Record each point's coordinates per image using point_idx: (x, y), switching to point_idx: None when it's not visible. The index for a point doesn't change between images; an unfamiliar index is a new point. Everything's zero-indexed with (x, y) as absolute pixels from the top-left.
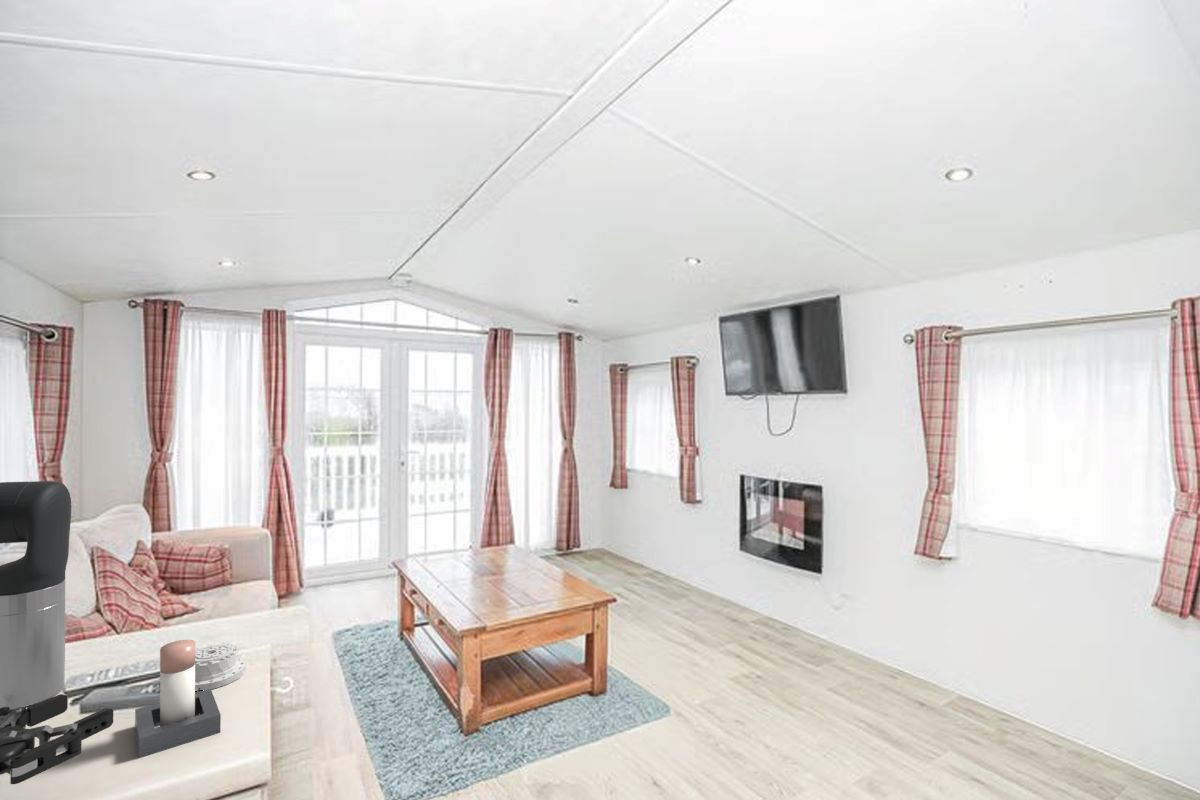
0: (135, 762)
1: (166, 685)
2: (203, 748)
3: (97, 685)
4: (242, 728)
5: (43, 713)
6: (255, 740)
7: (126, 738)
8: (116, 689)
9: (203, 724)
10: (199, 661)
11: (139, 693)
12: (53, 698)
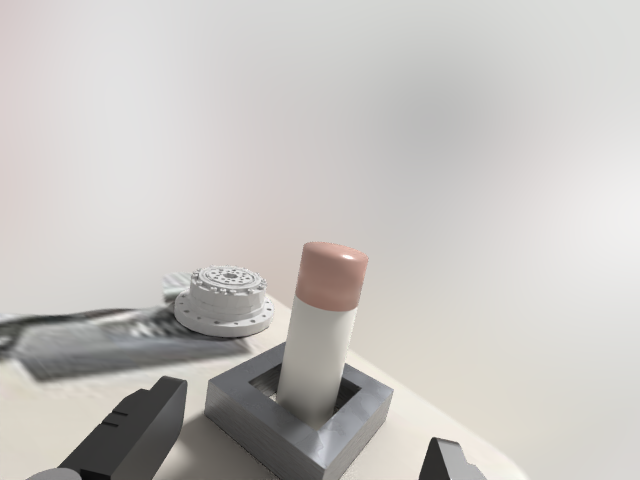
0: None
1: (327, 336)
2: (411, 463)
3: (25, 320)
4: (408, 409)
5: (139, 471)
6: (467, 435)
7: (217, 448)
8: (75, 329)
9: (379, 411)
10: (232, 288)
11: (132, 338)
12: (158, 399)
